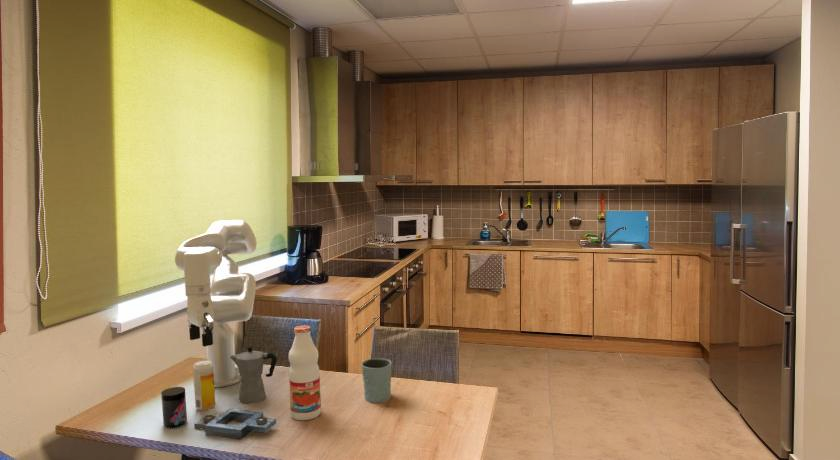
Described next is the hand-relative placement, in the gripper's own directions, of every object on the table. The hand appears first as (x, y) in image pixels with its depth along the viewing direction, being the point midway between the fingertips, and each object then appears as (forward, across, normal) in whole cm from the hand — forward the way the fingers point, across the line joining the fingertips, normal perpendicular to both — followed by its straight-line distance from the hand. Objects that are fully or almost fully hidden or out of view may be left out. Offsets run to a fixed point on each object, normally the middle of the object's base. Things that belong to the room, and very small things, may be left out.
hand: (201, 342), depth 182 cm
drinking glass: (+22, -34, -44) cm, 60 cm away
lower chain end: (+22, -18, +1) cm, 29 cm away
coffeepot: (+22, -5, -15) cm, 27 cm away
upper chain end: (+21, -23, -2) cm, 31 cm away
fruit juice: (+22, -28, -20) cm, 41 cm away
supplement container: (+22, -5, +11) cm, 25 cm away
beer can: (+22, 0, 0) cm, 22 cm away
